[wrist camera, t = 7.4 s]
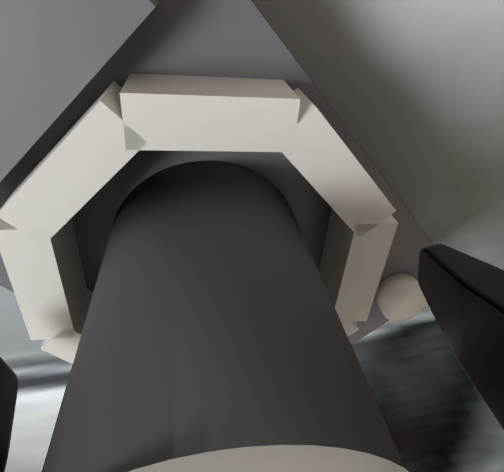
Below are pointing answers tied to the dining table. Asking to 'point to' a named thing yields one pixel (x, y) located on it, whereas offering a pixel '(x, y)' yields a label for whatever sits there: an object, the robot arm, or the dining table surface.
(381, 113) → the dining table surface
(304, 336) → the lens
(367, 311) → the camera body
